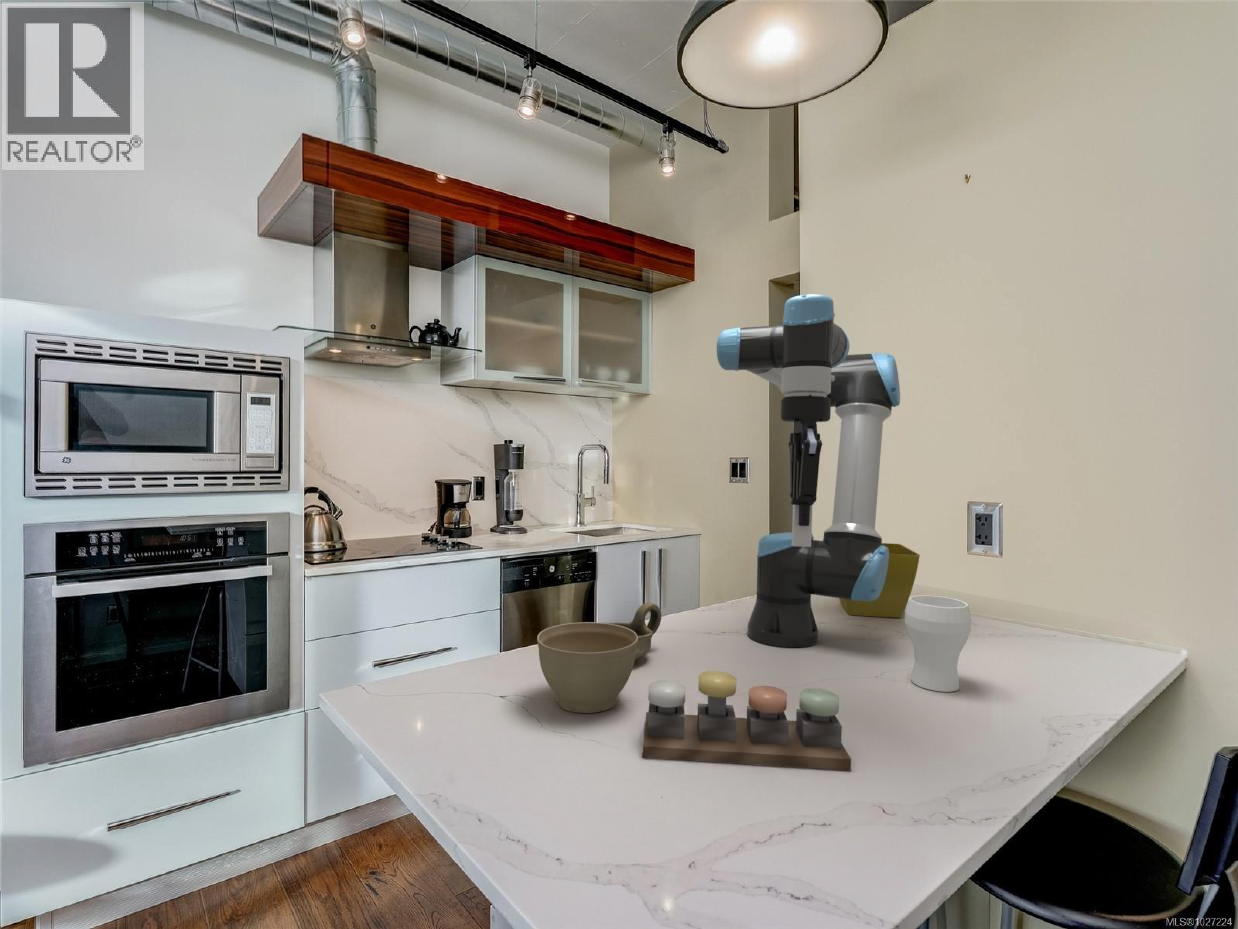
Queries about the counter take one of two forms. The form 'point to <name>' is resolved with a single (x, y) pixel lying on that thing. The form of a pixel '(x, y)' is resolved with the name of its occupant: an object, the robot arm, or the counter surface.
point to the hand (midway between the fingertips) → (801, 545)
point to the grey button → (666, 695)
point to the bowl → (644, 627)
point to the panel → (745, 739)
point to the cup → (937, 639)
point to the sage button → (819, 704)
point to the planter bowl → (587, 663)
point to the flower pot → (890, 586)
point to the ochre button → (717, 690)
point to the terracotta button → (767, 701)
